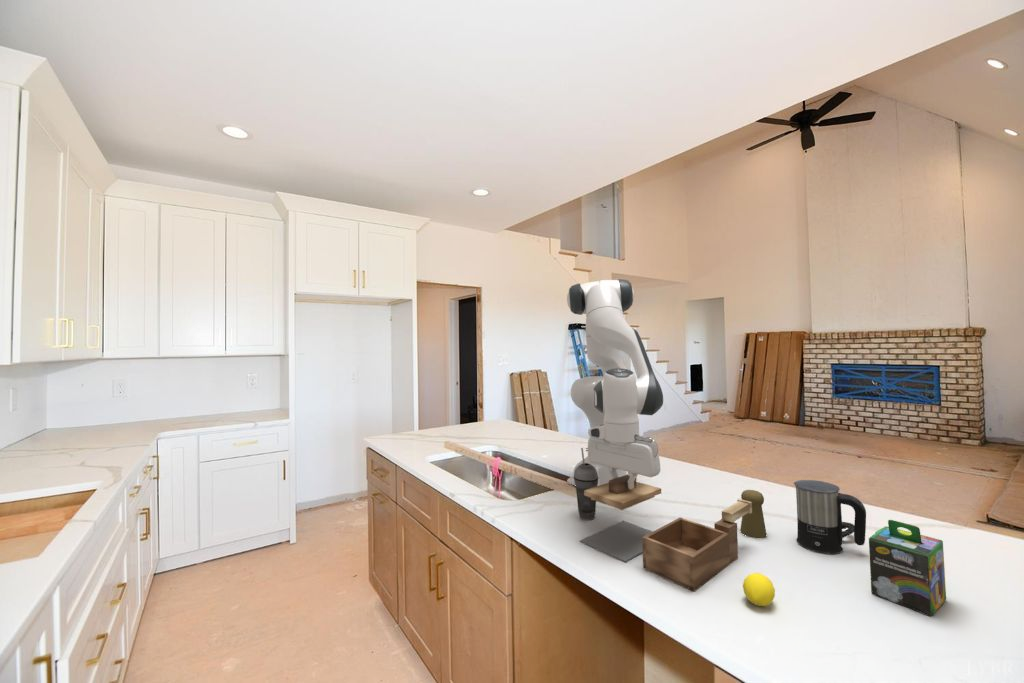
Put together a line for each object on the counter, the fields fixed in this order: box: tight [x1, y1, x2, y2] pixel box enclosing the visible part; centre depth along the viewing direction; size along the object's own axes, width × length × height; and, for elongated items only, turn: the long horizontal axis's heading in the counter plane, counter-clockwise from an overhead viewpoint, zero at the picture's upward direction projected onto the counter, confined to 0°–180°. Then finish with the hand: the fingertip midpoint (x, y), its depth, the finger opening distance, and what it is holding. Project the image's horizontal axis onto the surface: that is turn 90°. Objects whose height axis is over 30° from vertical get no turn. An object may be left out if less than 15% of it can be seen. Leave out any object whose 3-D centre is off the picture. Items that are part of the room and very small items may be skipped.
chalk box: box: [868, 519, 947, 617], centre depth 84 cm, size 9×9×15 cm
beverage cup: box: [573, 447, 599, 521], centre depth 125 cm, size 7×7×20 cm
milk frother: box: [793, 479, 867, 555], centre depth 107 cm, size 14×16×15 cm
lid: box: [584, 474, 662, 511], centre depth 110 cm, size 12×16×5 cm
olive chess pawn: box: [739, 489, 768, 539], centre depth 112 cm, size 6×6×11 cm
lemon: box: [742, 572, 776, 607], centre depth 83 cm, size 7×5×5 cm
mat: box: [579, 520, 654, 564], centre depth 110 cm, size 14×18×1 cm
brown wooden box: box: [642, 517, 739, 592], centre depth 98 cm, size 12×20×8 cm, turn 129°
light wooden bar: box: [721, 498, 752, 523], centre depth 103 cm, size 3×10×3 cm, turn 129°
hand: (622, 486), depth 110 cm, fingers closed on lid, 3 cm apart
